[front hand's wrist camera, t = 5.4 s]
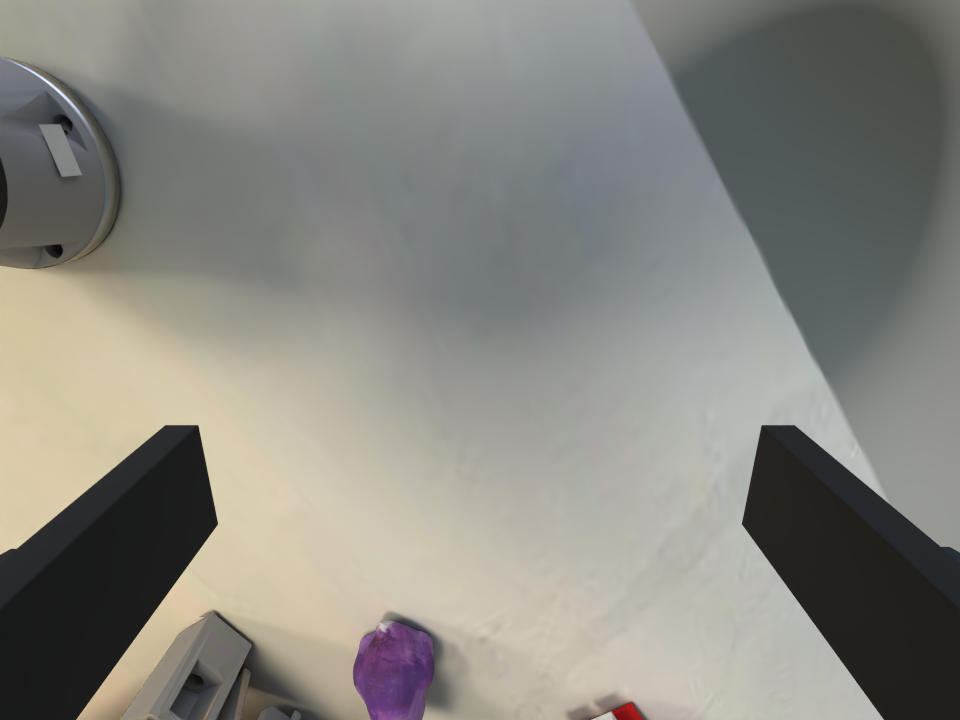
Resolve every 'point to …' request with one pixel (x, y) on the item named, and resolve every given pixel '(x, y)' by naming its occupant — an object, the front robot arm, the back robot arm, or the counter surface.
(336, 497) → the counter surface
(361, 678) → the figurine
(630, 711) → the toy
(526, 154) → the counter surface
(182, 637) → the record storage crate
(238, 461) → the counter surface
